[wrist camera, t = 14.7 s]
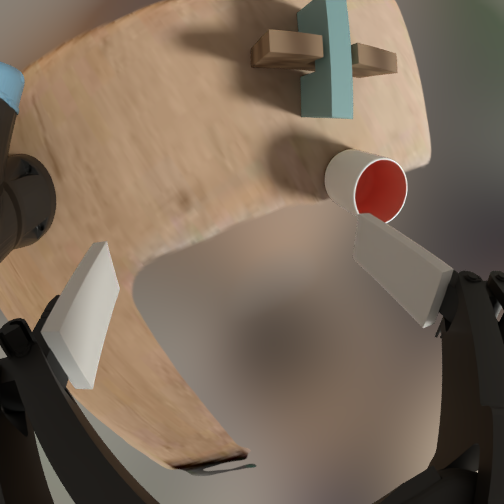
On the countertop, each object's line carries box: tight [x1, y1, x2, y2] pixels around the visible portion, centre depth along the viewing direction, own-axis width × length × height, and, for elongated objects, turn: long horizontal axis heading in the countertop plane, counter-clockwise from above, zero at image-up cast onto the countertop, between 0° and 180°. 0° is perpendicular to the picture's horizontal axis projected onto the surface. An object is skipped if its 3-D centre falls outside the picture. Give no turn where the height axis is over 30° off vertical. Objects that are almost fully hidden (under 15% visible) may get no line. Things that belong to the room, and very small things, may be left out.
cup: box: [325, 149, 407, 223], centre depth 40 cm, size 10×10×10 cm
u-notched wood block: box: [251, 29, 397, 78], centre depth 30 cm, size 18×3×10 cm, turn 92°
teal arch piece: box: [297, 0, 353, 119], centre depth 30 cm, size 18×3×10 cm, turn 2°
